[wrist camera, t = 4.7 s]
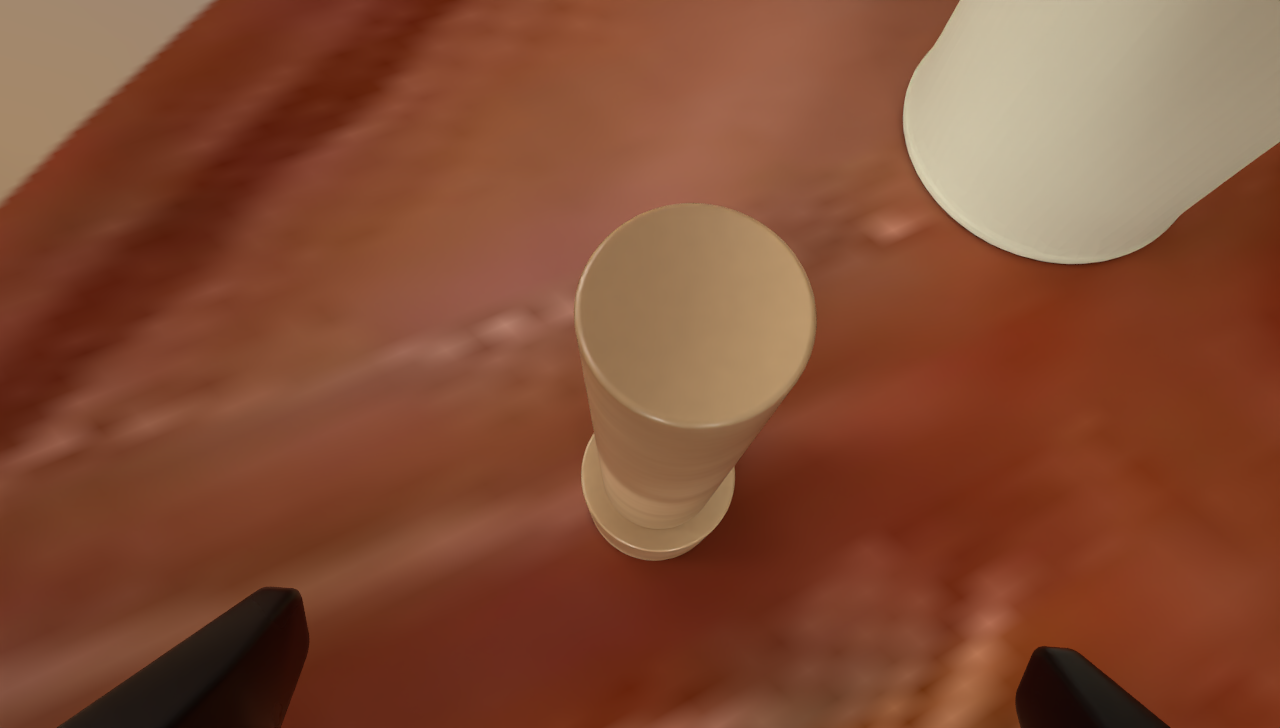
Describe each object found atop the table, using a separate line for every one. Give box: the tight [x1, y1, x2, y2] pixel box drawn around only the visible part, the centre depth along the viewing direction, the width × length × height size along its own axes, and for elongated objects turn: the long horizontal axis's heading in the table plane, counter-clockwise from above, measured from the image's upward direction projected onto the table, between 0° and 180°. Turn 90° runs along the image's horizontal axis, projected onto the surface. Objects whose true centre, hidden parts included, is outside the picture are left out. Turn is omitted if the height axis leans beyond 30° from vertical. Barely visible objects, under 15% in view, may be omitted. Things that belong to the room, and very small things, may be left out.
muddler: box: [574, 203, 817, 561], centre depth 14 cm, size 4×4×13 cm
